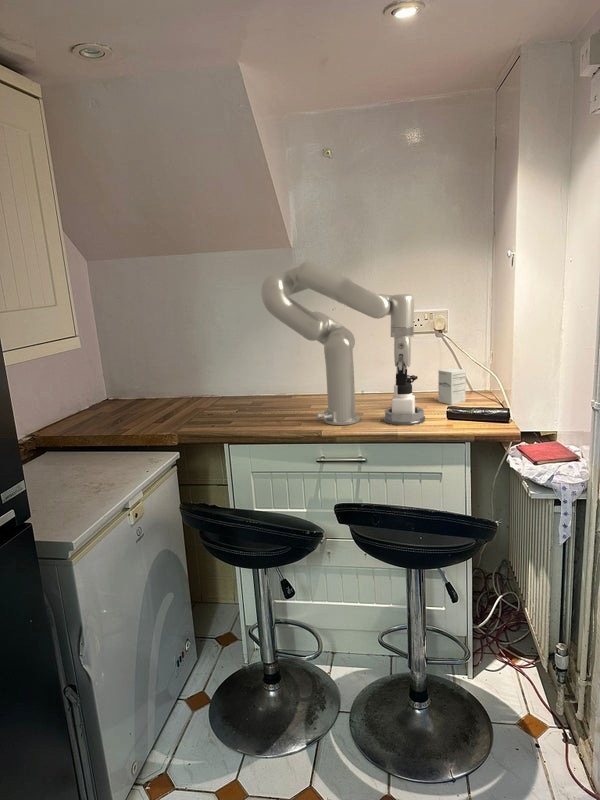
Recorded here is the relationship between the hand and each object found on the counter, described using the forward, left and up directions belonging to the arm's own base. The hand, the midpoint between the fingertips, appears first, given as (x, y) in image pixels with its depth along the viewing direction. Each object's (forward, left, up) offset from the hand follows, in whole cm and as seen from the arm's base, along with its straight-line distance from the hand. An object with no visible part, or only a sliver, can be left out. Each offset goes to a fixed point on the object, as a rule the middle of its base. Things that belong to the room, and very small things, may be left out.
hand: (401, 382), depth 195 cm
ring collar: (+1, 0, -13) cm, 13 cm away
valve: (+13, +13, -13) cm, 22 cm away
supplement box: (+31, +10, -13) cm, 35 cm away
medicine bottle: (0, 0, -12) cm, 12 cm away
